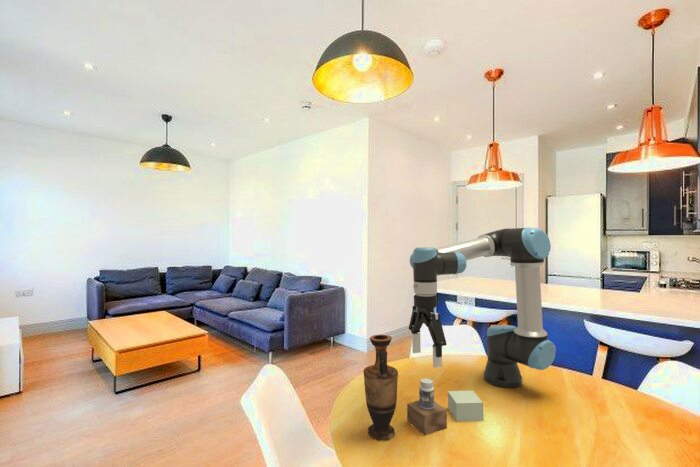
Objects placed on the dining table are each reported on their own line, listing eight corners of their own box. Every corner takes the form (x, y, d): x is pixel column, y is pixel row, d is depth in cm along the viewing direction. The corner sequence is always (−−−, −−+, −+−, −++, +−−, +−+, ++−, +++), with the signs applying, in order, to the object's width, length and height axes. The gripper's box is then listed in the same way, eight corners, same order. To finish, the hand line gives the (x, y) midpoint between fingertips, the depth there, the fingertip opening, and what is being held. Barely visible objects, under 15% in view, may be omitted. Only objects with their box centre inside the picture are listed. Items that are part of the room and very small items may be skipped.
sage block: (472, 407, 123) (472, 390, 123) (483, 420, 114) (483, 402, 114) (448, 408, 122) (447, 391, 123) (456, 421, 113) (456, 403, 114)
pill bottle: (416, 406, 112) (416, 380, 112) (424, 401, 115) (423, 376, 115) (429, 411, 108) (429, 384, 108) (436, 406, 112) (436, 380, 112)
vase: (363, 423, 113) (363, 332, 113) (396, 424, 112) (395, 332, 113) (364, 443, 102) (363, 342, 102) (400, 444, 101) (399, 342, 102)
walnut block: (428, 415, 118) (428, 397, 118) (447, 428, 110) (446, 409, 110) (407, 421, 114) (407, 403, 114) (424, 435, 106) (424, 416, 106)
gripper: (398, 289, 123) (399, 348, 123) (435, 301, 99) (436, 375, 99) (417, 288, 125) (418, 346, 125) (457, 300, 101) (458, 371, 101)
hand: (426, 359), depth 112 cm, fingers open, 13 cm apart
